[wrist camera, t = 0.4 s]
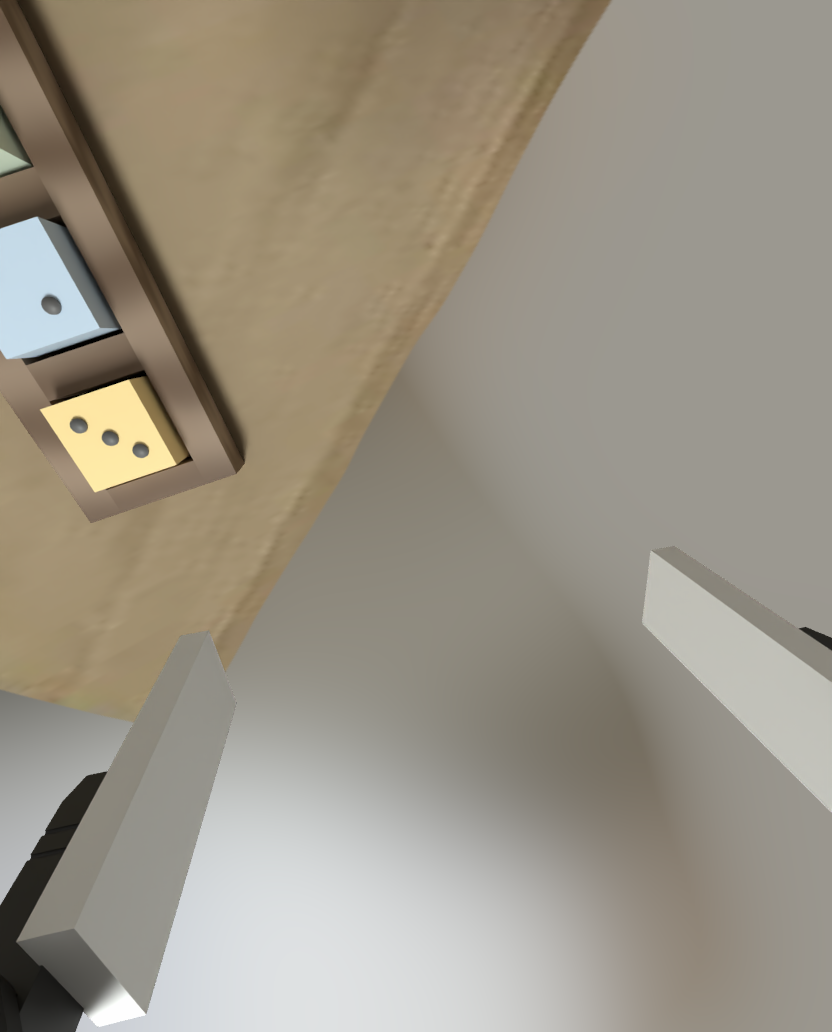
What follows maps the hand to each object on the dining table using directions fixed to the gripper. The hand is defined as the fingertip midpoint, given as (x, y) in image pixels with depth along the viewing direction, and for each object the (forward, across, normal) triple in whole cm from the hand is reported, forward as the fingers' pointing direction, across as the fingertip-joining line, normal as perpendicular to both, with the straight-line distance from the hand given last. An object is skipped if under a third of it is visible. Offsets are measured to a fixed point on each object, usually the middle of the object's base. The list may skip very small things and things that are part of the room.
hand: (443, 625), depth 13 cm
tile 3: (+25, -19, +3) cm, 32 cm away
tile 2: (+25, -20, +13) cm, 35 cm away
